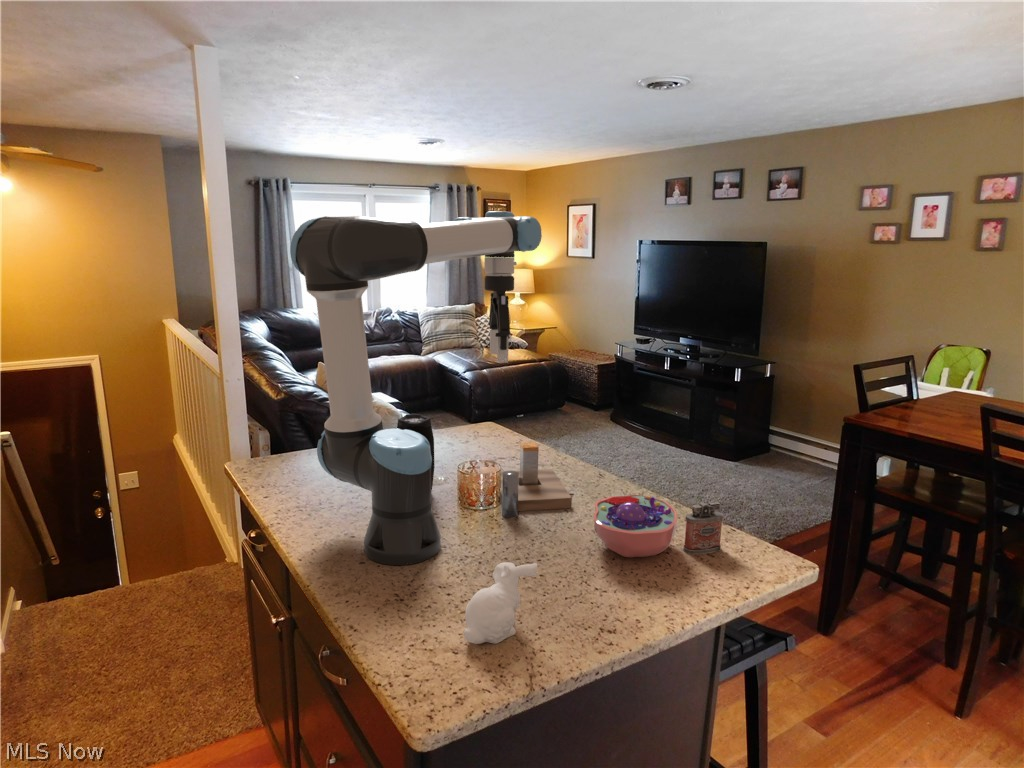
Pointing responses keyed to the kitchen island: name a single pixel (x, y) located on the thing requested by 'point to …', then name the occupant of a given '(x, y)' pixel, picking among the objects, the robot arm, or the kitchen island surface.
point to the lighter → (703, 529)
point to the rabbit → (496, 605)
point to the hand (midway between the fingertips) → (498, 358)
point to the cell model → (635, 524)
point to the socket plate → (542, 493)
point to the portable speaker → (419, 430)
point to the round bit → (510, 494)
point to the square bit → (528, 464)
